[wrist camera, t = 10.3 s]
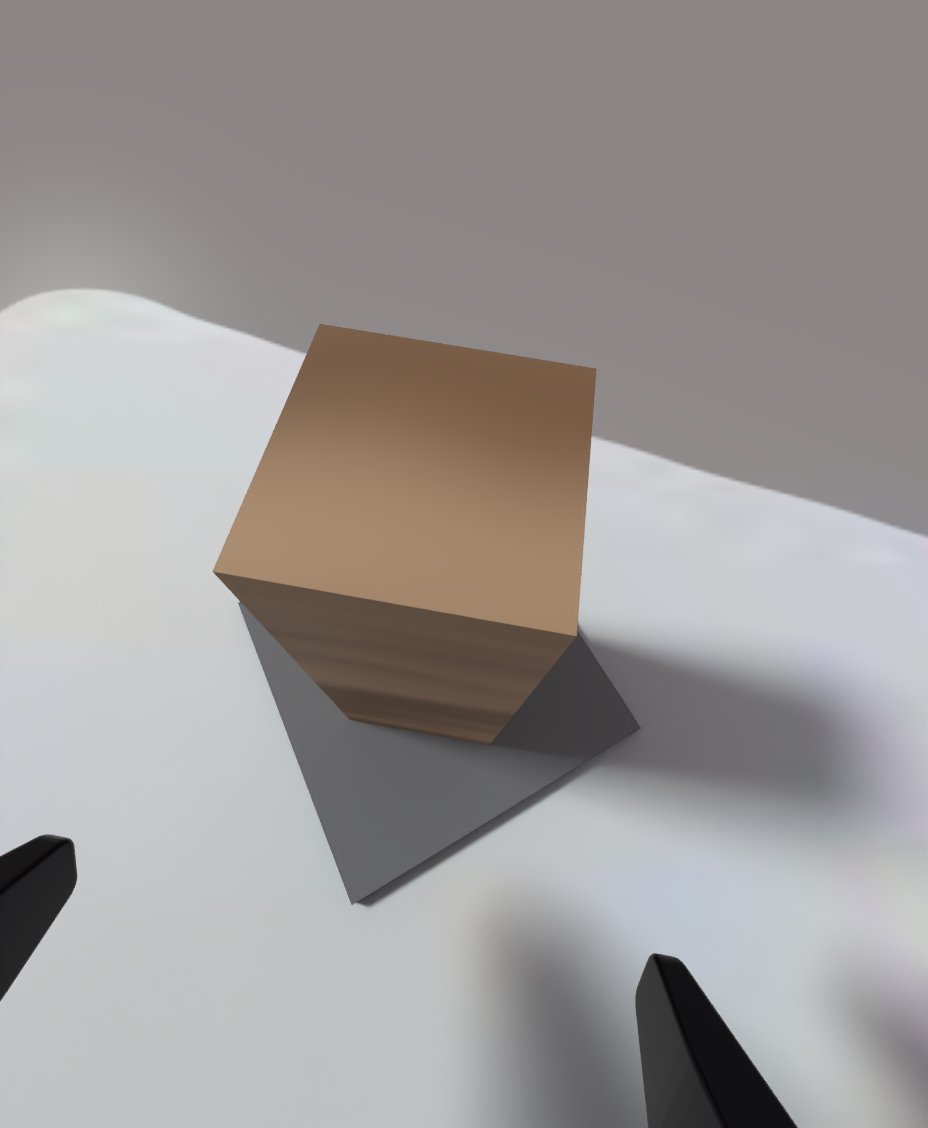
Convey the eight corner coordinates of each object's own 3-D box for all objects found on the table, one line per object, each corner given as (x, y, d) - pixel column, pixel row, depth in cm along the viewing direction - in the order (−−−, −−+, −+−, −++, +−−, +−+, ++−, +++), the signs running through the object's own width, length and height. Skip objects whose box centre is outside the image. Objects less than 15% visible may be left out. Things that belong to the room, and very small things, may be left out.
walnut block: (489, 745, 16) (576, 636, 6) (348, 719, 16) (212, 571, 6) (507, 612, 18) (596, 369, 8) (382, 590, 18) (320, 323, 8)
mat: (353, 902, 14) (351, 905, 14) (242, 607, 18) (238, 602, 18) (636, 729, 17) (640, 727, 16) (487, 500, 20) (488, 495, 20)
